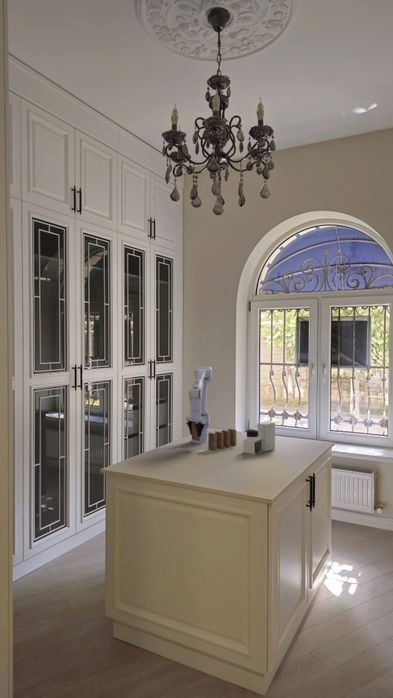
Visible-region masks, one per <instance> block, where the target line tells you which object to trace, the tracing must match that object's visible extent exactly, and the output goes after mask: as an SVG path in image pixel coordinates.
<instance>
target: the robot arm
mask: <svg viewBox="0 0 393 698" xmlns="http://www.w3.org/2000/svg"><path fill="white" fill-rule="evenodd" d="M194 378H195V380H194V381H193V384H192V387H191V389H189V393H188V396H189V397H188V398H189V403H190V407H189V408H190V409H189V410H190V413H189V414H190V416H186V417H185V421H186V425H187V426H188V431H189V433H190V435H191V436H192V423H197V424H195V426H196V429H197V437H199V436H200V441H196V440H192V439H191V440H190V442H192V443H195V444H199V445H203V444H208V433H209V431H208V429H209V428H208V427H210V426H211V414H210V412H209V411H208V410H207V403H208V402H207V401H208V387H209V383H211V382H212V381H213V380H212V379H213V368H212V367H211V366H195V368H194Z"/></svg>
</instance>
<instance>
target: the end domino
mask: <svg viewBox="0 0 393 698" xmlns="http://www.w3.org/2000/svg"><path fill="white" fill-rule="evenodd" d="M195 424H197V423H192V435H191V440H196V441H200V436H199V437H197V429H196V426H195Z"/></svg>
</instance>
